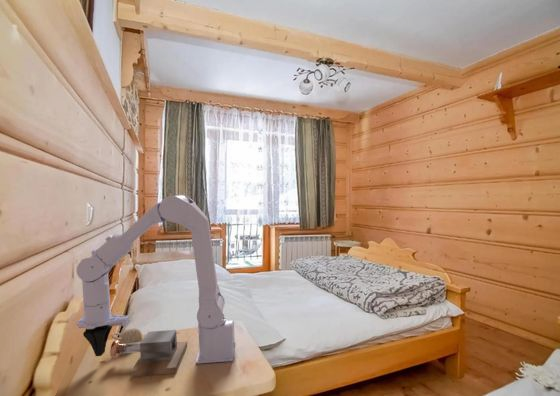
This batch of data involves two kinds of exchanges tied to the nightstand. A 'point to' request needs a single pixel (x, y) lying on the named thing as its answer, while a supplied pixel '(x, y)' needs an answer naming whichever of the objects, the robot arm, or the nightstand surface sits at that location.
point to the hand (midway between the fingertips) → (100, 354)
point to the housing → (159, 354)
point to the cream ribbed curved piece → (129, 335)
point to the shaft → (123, 348)
